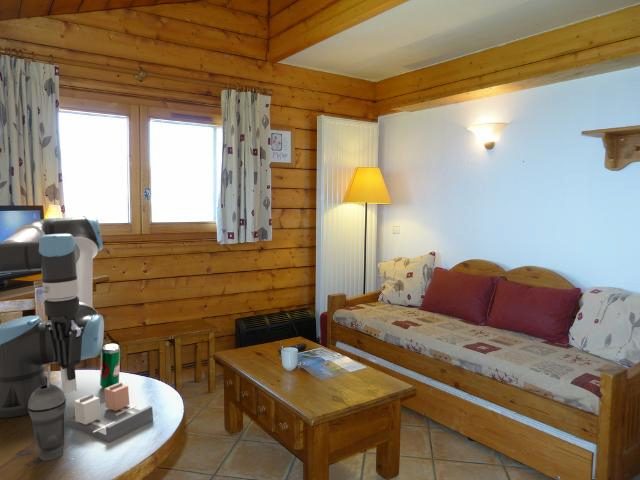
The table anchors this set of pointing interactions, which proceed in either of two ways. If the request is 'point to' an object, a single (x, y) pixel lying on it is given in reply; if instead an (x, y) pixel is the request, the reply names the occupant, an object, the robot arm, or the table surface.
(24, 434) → the table surface
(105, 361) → the soda can
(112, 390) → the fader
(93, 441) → the table surface
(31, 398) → the beverage cup
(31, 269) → the robot arm
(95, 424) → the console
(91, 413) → the block
